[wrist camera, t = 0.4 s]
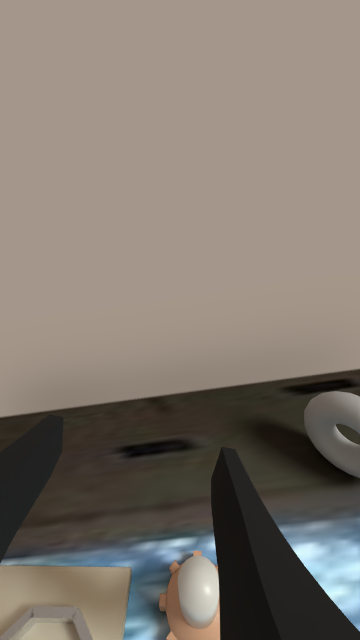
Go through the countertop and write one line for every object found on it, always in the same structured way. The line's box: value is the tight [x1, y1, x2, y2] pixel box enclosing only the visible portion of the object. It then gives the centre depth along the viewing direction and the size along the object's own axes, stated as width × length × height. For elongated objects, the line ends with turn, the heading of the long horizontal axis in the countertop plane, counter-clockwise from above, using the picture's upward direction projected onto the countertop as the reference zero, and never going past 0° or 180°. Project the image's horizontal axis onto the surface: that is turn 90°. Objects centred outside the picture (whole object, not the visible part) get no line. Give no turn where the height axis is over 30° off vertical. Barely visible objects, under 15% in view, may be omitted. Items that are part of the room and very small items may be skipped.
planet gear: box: [159, 551, 220, 640], centre depth 20 cm, size 6×6×5 cm
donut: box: [304, 391, 360, 478], centre depth 29 cm, size 10×3×10 cm, turn 40°
